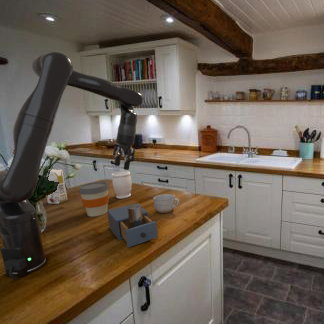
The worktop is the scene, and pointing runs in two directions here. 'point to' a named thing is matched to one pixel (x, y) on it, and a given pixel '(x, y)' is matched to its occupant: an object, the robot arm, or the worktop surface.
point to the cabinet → (119, 218)
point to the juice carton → (60, 193)
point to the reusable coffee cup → (95, 198)
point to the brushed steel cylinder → (135, 215)
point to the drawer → (138, 231)
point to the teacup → (165, 203)
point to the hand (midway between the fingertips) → (121, 167)
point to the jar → (122, 184)
